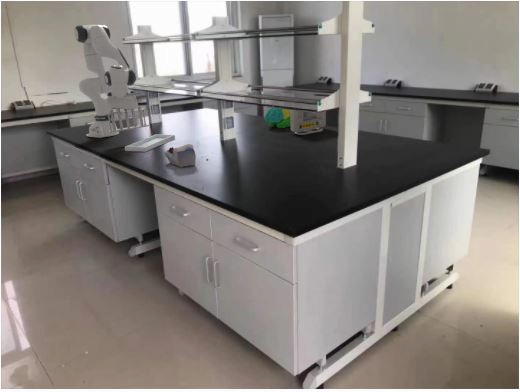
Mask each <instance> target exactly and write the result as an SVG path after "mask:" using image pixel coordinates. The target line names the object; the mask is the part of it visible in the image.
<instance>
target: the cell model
mask: <svg viewBox="0 0 520 392" xmlns="http://www.w3.org/2000/svg"><path fill="white" fill-rule="evenodd" d="M164 156H165V157H166V158H167V160H168V161H169V163H170V164H172V165H175V166H176V167H179V168H184V167H188V166H190V167H191V166H195V165H196V162H197V161H196V151H195V149H194V146H193V144H192V143H188V144H187V143H186V144H183V145H181V146H178V147H175V148H174V147H173V146H171V147H169V148H168V149H167V150H165V151H164Z"/></svg>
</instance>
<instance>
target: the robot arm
mask: <svg viewBox="0 0 520 392" xmlns="http://www.w3.org/2000/svg"><path fill="white" fill-rule="evenodd" d="M73 33H74V34H73V35H74V37H75V39H76V41H77V42H78V43H82V45H83V46H82V49H83V56H84V60H85V64H86V69H87V70H88V71H90V72H91V73H93V74H97V77H87V78H85V79H81V80H80V82H79V87H78V88H79V91H80V92H81V93H82V94H83V95H85V97H87V98H88V99H90V101H91V102H92V104H93V106H94V110H95V114H96V115H95V116H94V115H93V118H94V119H95V120H94V121H93V122H92V124H91V125H90V126H89V128H88V130H89V131H88V132H89V133H86V137H91V138H100V139H101V138H105V137H111V136H116V135H119V134H120V131H118V132H112V133H110V132H108V131H109V130H110V124H109V119H108V115H105V114H108V113H110V110H113V109H115V110H116V112H117V109H120V110H121V109H123V110H124V109H127V111H128V113H126V114H127V116H128V117H130V116H131V113H132V112H131V109H134V110H136V109H138V106H139V102H138V98H137V96H136V94H135V93H134V92H129V86H134V84H135V82H136V80H137V77H136V73H135V71H134V70H133V69H132V67H131V66H130V64H129V63H128V62H127V59H126V57H125V56H124V55H123V53H122V51H121V50H120V48H118V47H116V46H115V45H114V44H113V42H111V32H110V28H109V27H108V26H107V25H104V24H85V25H84V24H83V25H82V24H79V25H76V26H75V28H74V32H73ZM103 57H104V58H108V59H111V60H114V61H116V62H117V64H112V65H111V66H110V67H109V70H108V69H107V68H106V65H105V62H104V59H103ZM104 94H106V97H107V98H102V96H101V95H104ZM122 116H123V113H121V117H122ZM109 117H110V122H111V128H112V130H113V125H112V120H111V115H110V116H109ZM115 119H116V118H115V116H114V120H115ZM115 125H116V129H118V127H117V124H116V123H115Z"/></svg>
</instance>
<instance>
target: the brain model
mask: <svg viewBox="0 0 520 392" xmlns="http://www.w3.org/2000/svg"><path fill="white" fill-rule="evenodd" d="M264 121H265V122H266V123H267V124H268V125H269V126H270V127H272V128H274V127H277V128H278V129H286V128H288V127H291V123H290V110H287V109H279V108H272V107H271V108H269V109H268V110H267V112H266V113H265V114H264Z"/></svg>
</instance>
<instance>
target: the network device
mask: <svg viewBox="0 0 520 392" xmlns="http://www.w3.org/2000/svg"><path fill="white" fill-rule="evenodd" d="M290 123H291V126H290V131H292V132H294V134H295V135H300V136H301V135H308V134H314V133H318V132H322V131H324V129H323V128H325V127H326V124H327V110H326V111H324V112H319V113H312V112H304V111H296V110H290Z"/></svg>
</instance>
